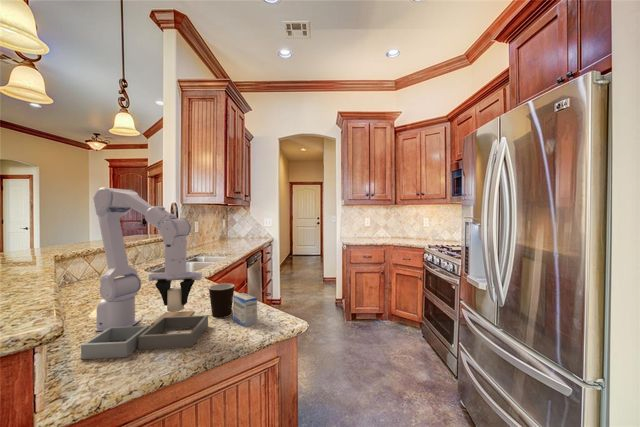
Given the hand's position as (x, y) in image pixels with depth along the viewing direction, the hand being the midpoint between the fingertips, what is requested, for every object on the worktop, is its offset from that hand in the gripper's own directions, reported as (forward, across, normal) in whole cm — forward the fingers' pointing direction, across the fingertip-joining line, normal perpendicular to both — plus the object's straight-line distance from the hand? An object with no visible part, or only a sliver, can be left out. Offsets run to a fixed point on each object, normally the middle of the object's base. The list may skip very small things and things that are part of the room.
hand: (175, 304), depth 81 cm
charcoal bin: (+9, +1, -2) cm, 9 cm away
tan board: (+9, -6, +13) cm, 17 cm away
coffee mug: (+9, +10, +16) cm, 21 cm away
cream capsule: (+1, 0, 0) cm, 1 cm away
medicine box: (+9, +19, +7) cm, 22 cm away
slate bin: (+9, -12, -7) cm, 16 cm away
